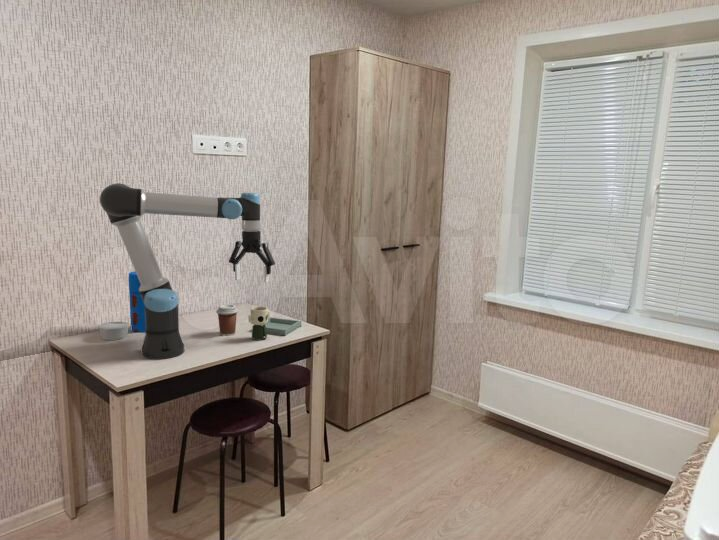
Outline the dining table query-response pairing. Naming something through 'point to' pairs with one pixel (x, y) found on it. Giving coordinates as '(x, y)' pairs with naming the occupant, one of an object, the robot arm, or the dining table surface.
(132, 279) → the thermos
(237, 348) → the dining table surface
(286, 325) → the tray
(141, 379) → the dining table surface
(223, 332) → the coffee cup
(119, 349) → the dining table surface
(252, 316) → the character mug
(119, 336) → the ramekin
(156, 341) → the robot arm
